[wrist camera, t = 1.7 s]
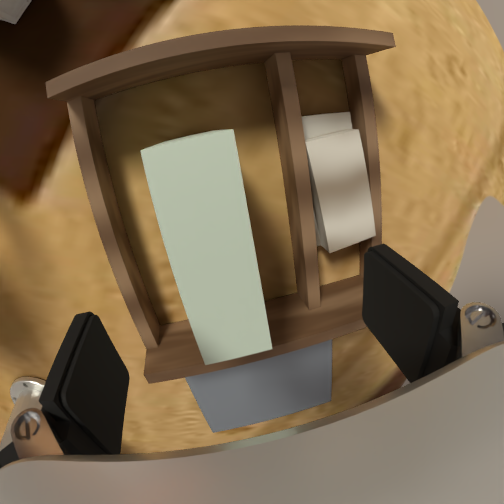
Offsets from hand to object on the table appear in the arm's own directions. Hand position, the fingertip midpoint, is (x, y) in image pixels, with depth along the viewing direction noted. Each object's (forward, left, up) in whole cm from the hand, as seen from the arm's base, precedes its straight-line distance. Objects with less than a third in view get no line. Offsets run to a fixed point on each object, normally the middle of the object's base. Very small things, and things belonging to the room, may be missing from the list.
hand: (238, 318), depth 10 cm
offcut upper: (-1, -11, -16) cm, 20 cm away
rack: (0, -4, -18) cm, 18 cm away
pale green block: (0, 0, -18) cm, 18 cm away
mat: (-23, -2, -18) cm, 29 cm away
